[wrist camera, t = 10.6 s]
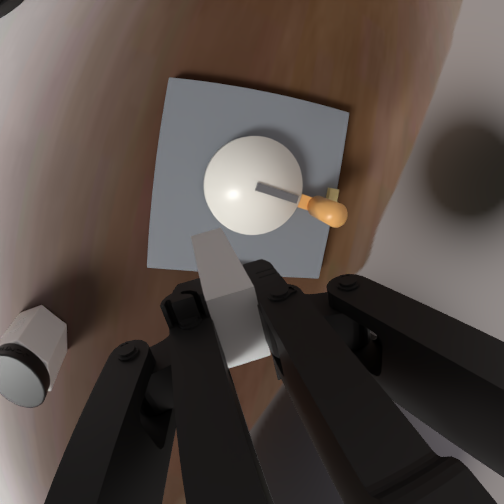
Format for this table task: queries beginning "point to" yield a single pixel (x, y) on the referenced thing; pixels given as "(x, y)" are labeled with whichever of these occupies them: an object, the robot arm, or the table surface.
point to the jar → (31, 356)
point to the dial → (261, 188)
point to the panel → (210, 141)
